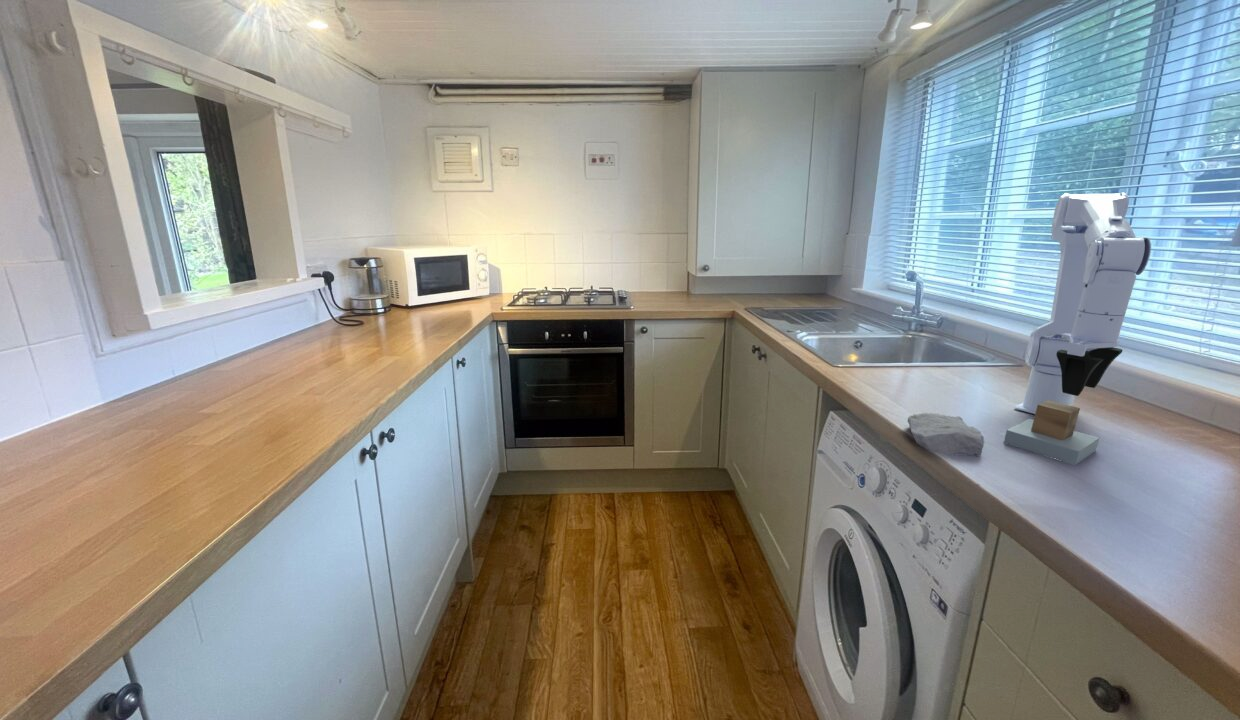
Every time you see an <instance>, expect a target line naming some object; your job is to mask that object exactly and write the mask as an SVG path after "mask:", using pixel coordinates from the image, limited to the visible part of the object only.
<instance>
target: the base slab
mask: <svg viewBox="0 0 1240 720" xmlns="http://www.w3.org/2000/svg"><path fill="white" fill-rule="evenodd" d="M1033 421H1034V418H1033V419H1032V418H1028V419H1026V420H1023V421H1022V422H1020V423H1018V424H1016V425H1013V426H1012V427H1009V428H1008V429H1006V431H1005V435H1004V440H1003V443H1004V444H1006V443H1007V444H1006V445H1009V444H1011V445H1010V446H1012V445H1014V446H1013V447H1016V446H1017V448H1019V447H1020V448H1019V449H1022V448H1023V449H1022V450H1025V449H1026V450H1025V451H1028V450H1029V451H1028V452H1031V451H1032V453H1035V454H1039V455H1041V454H1042V455H1041V456H1044V455H1045V456H1044V457H1047V456H1048V457H1047V458H1050V457H1052V458H1051V459H1053V458H1056V459H1055V460H1057V459H1058V461H1060V460H1061V462H1063V461H1064V463H1066V462H1067V463H1066V464H1069V463H1070V464H1069V465H1073V466H1076V465H1078V464H1079V463H1080V462H1082V461H1083V460H1085V459H1086V458H1087V457H1089V456H1091V455H1092V454H1093V453H1095V452H1096V450H1097V448H1098V445H1099V441H1100V437H1098V436H1095V435H1090V434H1087V433H1084V432H1079V431H1075V430H1074V432H1073V435H1072V436H1070V437H1068V438H1066V439H1065V440H1059V439H1056V438H1053V437H1049V436H1046V435H1042V434H1039V433H1035V432H1032V431H1031V429H1032V425H1033Z"/></svg>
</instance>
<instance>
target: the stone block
mask: <svg viewBox="0 0 1240 720" xmlns="http://www.w3.org/2000/svg"><path fill="white" fill-rule="evenodd" d="M907 423H908V425H909V429H910V431H911V434H912V435H913V437H914V440H915V443H916V444H917V445H919V447H922V448H924V449H925V450H926V451H928V452H931V453H938V454H944V455H963V456H976V457H977V456H978V457H980V456H981V455H982V453H983V449H984V445H985V440H984V439H985V438H984V435H983V434H982V432H981V431H980V430H979V429H977V428H975V427H974V426H969V425H967V423H965V422H964V420H963V418H962V416H958V415H957V416H951V415H945V414H939V413H934V412H933V413H932V412H921V413H917V414H912V415H909V416H908V417H907Z"/></svg>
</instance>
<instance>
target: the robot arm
mask: <svg viewBox="0 0 1240 720" xmlns="http://www.w3.org/2000/svg"><path fill="white" fill-rule="evenodd" d="M1129 202H1130V198H1129V196H1128V195H1127V193H1126V192H1119V193H1082V194H1081V193H1080V194H1079V193H1073V194H1071V193H1066V192H1065V193H1064V194H1062V195H1060V197H1059V198H1058V199H1057V202H1056V205H1055V208H1054V212H1053V217H1052V222H1051V223H1052V224H1051V229H1050V234H1051V239H1052V240H1053V241H1055V242H1056V243H1058V244H1059V247H1060V248H1059V249H1060V258H1059V265H1058V272H1057V277H1056V282H1055V283H1056V284H1055V289H1054V290H1055V291H1054V296H1053V302H1052V308H1051V314H1050V320H1049V322H1047V323H1045V324H1043V325H1040V326H1039V327H1036V328H1035V329H1034V330H1033V331H1032V332H1031V333H1030V334H1029V335H1030V337H1029V341H1028V343H1027V347H1026V350H1025V355H1024V356H1025V357H1024V359H1025V360H1024V361H1025V363H1026V364H1027V366H1029V367H1031V370H1030V375H1029V379H1028V382H1027V387H1026V390H1025V393H1024V394H1025V395H1024V399H1023V402H1022V403H1020V404H1017V405H1015V406H1014V409H1015V410H1016V411H1017V410H1018V411H1021V412H1026V413H1030V414H1033V415H1035V413H1036V409H1037V406H1038V404H1040V403H1043V402H1045V401H1047V400H1049V401H1053V402H1057V403H1061V404H1065V405H1069V406H1074V403H1075V402H1074V401H1075V398H1076V396H1077V397H1078V396H1080V394H1081V393H1082V392H1083V390H1084V389H1085V387H1086V388H1092V389H1095V388H1096V387H1097V386H1098V385H1099V383H1100V381H1101V379H1102V378H1103V375H1104V374H1105V372H1106V371H1107V369H1108V368H1109V366H1110V365H1111V364H1112V363H1113V362H1114V361H1115V359H1116V358H1118V357H1119V355H1121V354H1122V353H1123V348H1119V347H1118V345H1119V336H1120V333H1121V329H1122V325H1123V323H1124V320H1125V315H1126V313H1127V310H1128V305H1129V302H1130V298H1131V296H1132V292H1133V290H1134V289H1133V288H1134V286H1135V282H1136V279H1137V276H1139V275H1141V274H1142V273H1143V272H1144V270H1145V269H1146V267H1147V265H1148V263H1149V260H1150V257H1151V254H1152V253H1151V252H1152V243H1151V239H1150V237H1147V236H1143V237H1136V234H1135V233H1134V231H1133V228H1132V226H1131V225H1130V223H1129V221H1128V220H1127V219H1125V217H1126V215H1127V212H1128V208H1129V205H1130V203H1129Z"/></svg>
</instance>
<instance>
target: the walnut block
mask: <svg viewBox="0 0 1240 720" xmlns="http://www.w3.org/2000/svg"><path fill="white" fill-rule="evenodd" d="M1080 409H1081V408H1080V407H1077V406H1074V405H1073V406H1069V405H1065V404H1061V403H1057V402H1053V401H1049V400H1047V401H1045V402H1043V403H1040V404H1038V406H1037V409H1036V413H1035V414H1034V418H1033V420H1034V421H1033V425H1032V429H1031V431H1032V432H1035V433H1039V434H1042V435H1046V436H1049V437H1053V438H1056V439H1059V440H1065V439H1066V438H1068V437H1070V436H1072V435H1073V432H1074V431H1075V429H1076V424H1077V421H1078V418H1079V417H1078V416H1079V413H1080Z"/></svg>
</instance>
